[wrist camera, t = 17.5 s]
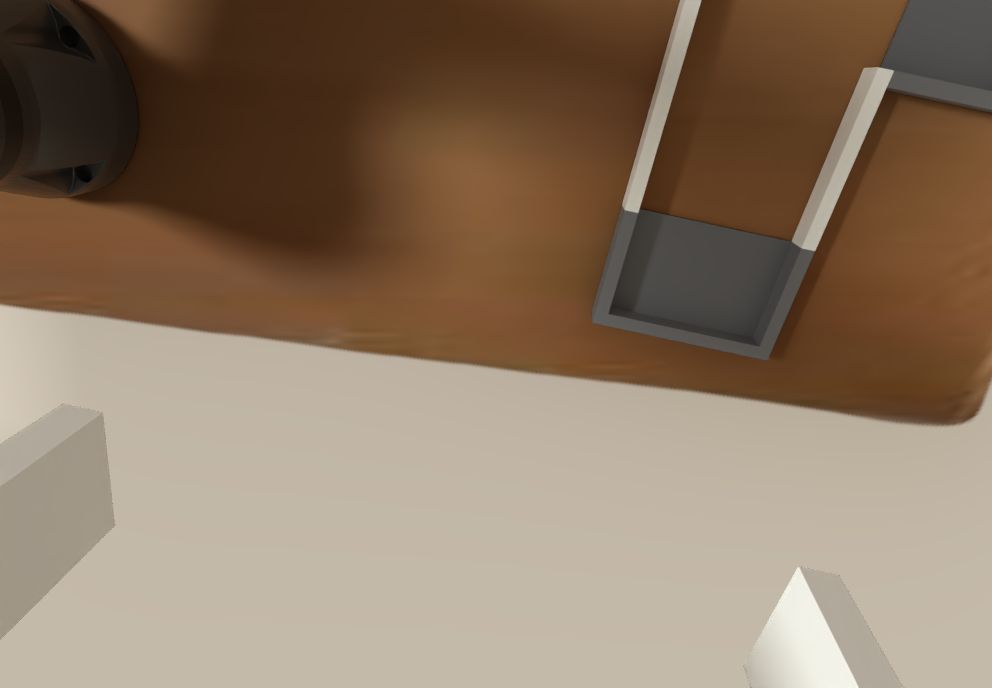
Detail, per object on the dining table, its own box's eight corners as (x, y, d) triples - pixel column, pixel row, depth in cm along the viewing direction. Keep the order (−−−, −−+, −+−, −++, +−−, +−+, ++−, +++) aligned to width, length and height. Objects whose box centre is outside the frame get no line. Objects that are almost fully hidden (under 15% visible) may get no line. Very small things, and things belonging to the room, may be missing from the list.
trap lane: (591, 313, 48) (593, 327, 45) (800, -425, 30) (824, -475, 28) (867, 373, 48) (886, 391, 45) (1239, -335, 30) (1307, -377, 27)
